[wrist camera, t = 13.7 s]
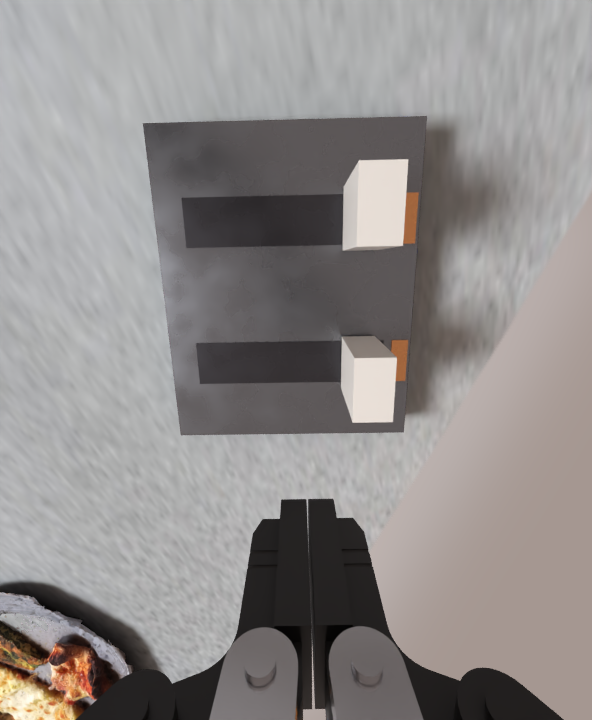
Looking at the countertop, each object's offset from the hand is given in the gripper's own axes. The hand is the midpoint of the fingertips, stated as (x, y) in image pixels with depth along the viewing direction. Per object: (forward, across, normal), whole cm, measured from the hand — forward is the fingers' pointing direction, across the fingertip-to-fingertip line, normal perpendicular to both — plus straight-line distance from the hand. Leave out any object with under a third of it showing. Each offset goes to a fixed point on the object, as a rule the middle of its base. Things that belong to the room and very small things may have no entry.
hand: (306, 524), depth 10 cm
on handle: (+16, -4, -10) cm, 20 cm away
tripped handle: (+16, -4, 0) cm, 17 cm away
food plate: (+20, +31, +37) cm, 52 cm away
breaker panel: (+20, +1, -5) cm, 20 cm away
